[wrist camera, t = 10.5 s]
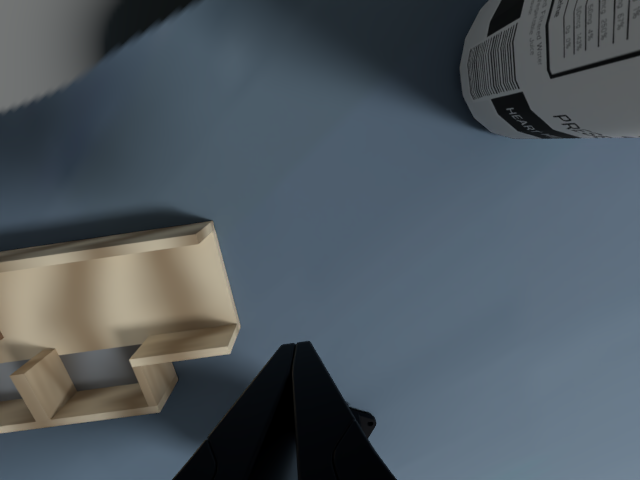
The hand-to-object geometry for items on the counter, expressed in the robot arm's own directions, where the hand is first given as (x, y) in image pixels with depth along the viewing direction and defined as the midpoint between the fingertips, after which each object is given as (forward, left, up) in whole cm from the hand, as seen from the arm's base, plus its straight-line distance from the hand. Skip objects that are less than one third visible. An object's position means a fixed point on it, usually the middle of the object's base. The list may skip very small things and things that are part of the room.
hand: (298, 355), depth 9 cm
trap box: (-13, +13, -12) cm, 22 cm away
